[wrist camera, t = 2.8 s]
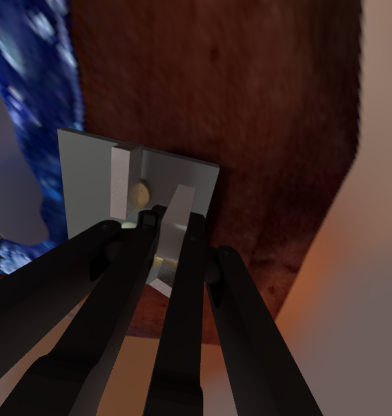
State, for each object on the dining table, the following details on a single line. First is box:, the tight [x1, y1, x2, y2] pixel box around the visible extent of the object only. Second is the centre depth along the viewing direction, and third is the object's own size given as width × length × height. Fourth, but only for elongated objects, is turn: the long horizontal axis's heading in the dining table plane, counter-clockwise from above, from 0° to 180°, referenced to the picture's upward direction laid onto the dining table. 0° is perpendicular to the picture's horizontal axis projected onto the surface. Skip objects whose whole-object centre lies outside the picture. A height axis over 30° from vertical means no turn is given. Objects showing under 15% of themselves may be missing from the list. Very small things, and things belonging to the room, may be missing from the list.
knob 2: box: [149, 254, 178, 298], centre depth 30 cm, size 9×4×6 cm, turn 47°
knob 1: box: [110, 141, 151, 220], centre depth 23 cm, size 9×4×6 cm, turn 167°
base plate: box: [57, 128, 220, 284], centre depth 30 cm, size 24×21×3 cm
